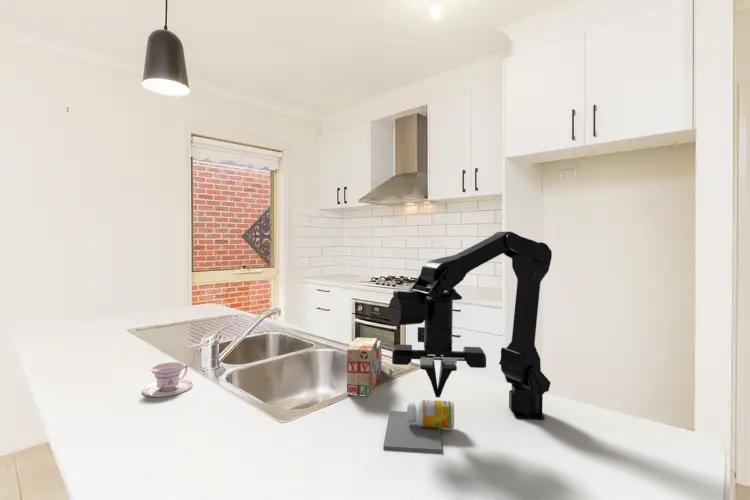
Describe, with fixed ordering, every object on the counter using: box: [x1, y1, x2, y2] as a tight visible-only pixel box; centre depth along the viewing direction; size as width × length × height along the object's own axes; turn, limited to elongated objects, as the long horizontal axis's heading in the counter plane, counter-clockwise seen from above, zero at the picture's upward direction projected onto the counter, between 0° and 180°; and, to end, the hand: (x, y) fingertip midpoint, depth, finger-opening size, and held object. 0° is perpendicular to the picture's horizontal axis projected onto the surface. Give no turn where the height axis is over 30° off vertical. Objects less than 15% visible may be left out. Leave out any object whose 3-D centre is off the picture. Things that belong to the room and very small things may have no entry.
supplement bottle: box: [406, 399, 455, 430], centre depth 85 cm, size 5×5×10 cm
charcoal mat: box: [382, 410, 443, 454], centre depth 85 cm, size 11×16×1 cm
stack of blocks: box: [346, 337, 383, 397], centre depth 114 cm, size 21×6×12 cm, turn 171°
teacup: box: [142, 361, 194, 398], centre depth 108 cm, size 12×12×6 cm
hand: (437, 396), depth 84 cm, fingers closed
